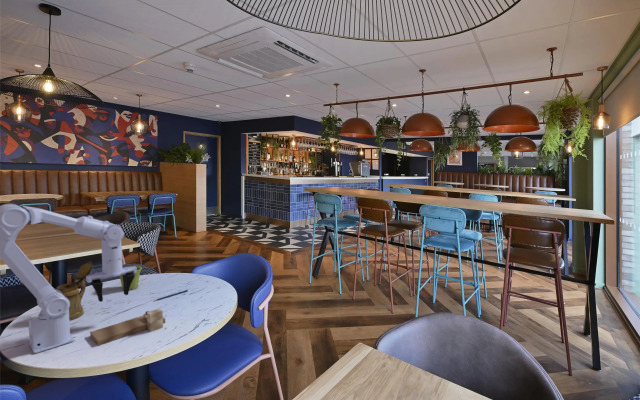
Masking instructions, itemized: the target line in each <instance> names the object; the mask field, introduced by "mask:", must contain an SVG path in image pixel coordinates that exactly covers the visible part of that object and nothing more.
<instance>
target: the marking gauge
mask: <svg viewBox="0 0 640 400" xmlns="http://www.w3.org/2000/svg"><path fill="white" fill-rule="evenodd" d="M163 314H164V312H163V310H162V309H161V308H156V309H153V310H150V311H149V310H146V311H145V312H144V313H143V314H142V316H143V318H145V319H146V320H147V326H148V329H147V331H149V332H151V333H152V332H154V331H157V330H159V329H160V330H161V329H163V328H164V323H163V317H164V316H163Z"/></svg>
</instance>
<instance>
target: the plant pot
mask: <svg viewBox="0 0 640 400" xmlns="http://www.w3.org/2000/svg"><path fill="white" fill-rule="evenodd" d="M134 266H135V265H133V266H129V267H134ZM127 267H128V266H125V267H123V268H127ZM135 267H137V273H133V274H134V275H135V277H134V279H133V281H132V283H131V285H130V288H129V291H130V290H135V289H137V288H139V281H140V276H141V275H140V273H141V270H142V269H143V268H142V266H140V265H139V266H138V265H136V266H135ZM119 279H120V284H121V289H122V290H123V288H124V284H123V277H122V275H120V276H119Z"/></svg>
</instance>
